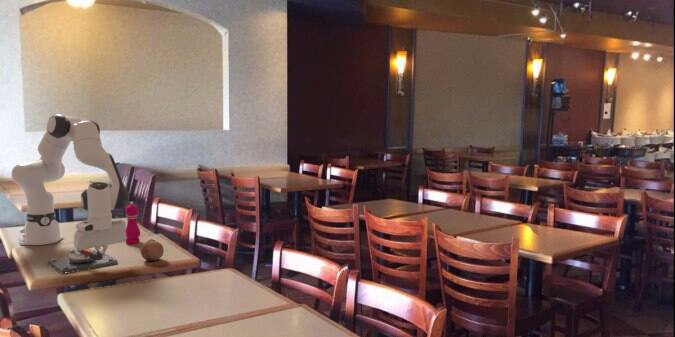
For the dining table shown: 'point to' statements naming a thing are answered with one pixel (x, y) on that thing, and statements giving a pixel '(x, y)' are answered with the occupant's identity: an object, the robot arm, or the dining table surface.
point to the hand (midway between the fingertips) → (101, 256)
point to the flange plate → (79, 264)
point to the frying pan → (84, 255)
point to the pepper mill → (132, 224)
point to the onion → (152, 250)
